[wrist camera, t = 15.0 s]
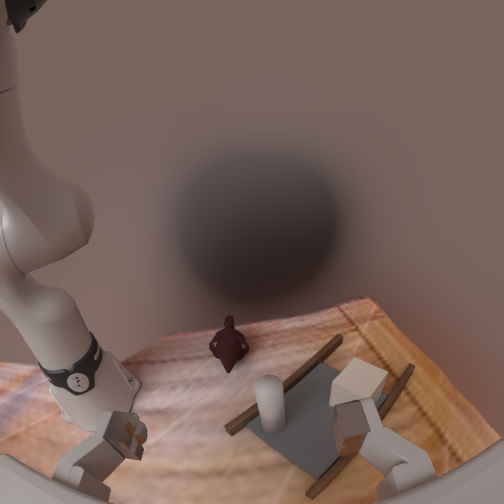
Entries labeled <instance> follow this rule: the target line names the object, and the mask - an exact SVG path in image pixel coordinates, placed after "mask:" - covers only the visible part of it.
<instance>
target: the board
mask: <svg viewBox="0 0 504 504" xmlns="http://www.w3.org/2000/svg"><path fill="white" fill-rule="evenodd" d="M339 374H340V372H338V371H336V370H334V369H332V368H331V367H329V366H327V365H325V364H323V363H320V364H318V365H317V366H316V367H315V368H314V369H313V370H312V371H311V372H310V373H309V374H308V375H306V376H305V377H304V378H303V379H302V380H301V381H300V382H299V383H297V384H296V385H295V386H294V387H293V388H292V389H290V390H289V391H288V392H287V393H286V394H284V393H283V382H282V380H281V379H280V378H279V377H277V376H274V375H265V376H262V377H260V378H258V379H257V380H256V381H255V383H254V390H255V395H256V400H257V405H258V410H259V415H258V416H257V417H255V418H254V419H253V420H251V421H250V422H249V423H247V427H248V428H249V429H250V430H251V431H252V432H254V433H255V434H256V435H257V436H259V437H260V438H261V439H262V440H263V441H265V442H266V443H267V444H269V445H270V446H271V447H272V448H274V449H275V450H276V451H278V452H279V453H280V454H282V455H283V456H284V457H286V458H287V459H288V460H290V461H291V462H293V463H294V464H295V465H297V466H298V467H300V468H301V469H303V470H304V471H306V472H307V473H309V474H310V475H312V476H313V477H315V478H316V479H319V478H320V477H321V476H322V475H323V474H324V473H325V472H326V471H327V470H328V469H329V468H330V467H331V466H332V465H333V464H334V463H335V462H336V461H337V460H338V459H339V457H340V456H339V455H338V451H337V447H336V440H337V437H336V436H335V435H334V434H333V430H332V415H333V414H334V411H333V408H334V407H332V406H330V405H329V402H330V395H331V387H332V381H333V380H334V379H335V378H336V377H337V376H338V375H339ZM387 396H388V395H386V394H384V393H381V396H380V397H379V399H378V400H377V401H376V403H375V406H376V408H377V411H378V410H379V408H380V407H381V406H382V404H383V403H384V401H385V400H386V399H387Z"/></svg>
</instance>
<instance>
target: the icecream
mask: <svg viewBox="0 0 504 504" xmlns="http://www.w3.org/2000/svg"><path fill="white" fill-rule="evenodd" d="M224 324H225V328H224V329H222V330H220V331H218V332H217V333H216V335H215V336H214V338H213V339H212V341H211V342H210V343H209V345H210V347H209V349H210V350H211V351H212V353H213V355H214V356H215V357H216V358H218V359H220V360H221V362H222V364H223V366H224V368H225V370H226V372H227V373H230V372H231V370H232V368H233V366H234V365H235V363H236V361H237V360H240V359H241V358H242V357H243V356H244V355H245V354H246V353H247V352H248V348H249V346H248V344H247V343H246V341H245V339H244V335H243V334H242V333H240V332H239V331H238V330H236V329H235V328H234V327H235V326H234V319H233V316H228V317H226V319H225V322H224Z"/></svg>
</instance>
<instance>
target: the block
mask: <svg viewBox="0 0 504 504" xmlns="http://www.w3.org/2000/svg"><path fill="white" fill-rule="evenodd" d="M387 375H388V371H385V370H383V369H381V368H378V367H376V366H374V365H371V364H369V363H367V362H365V361H363V360H360V359H358V358H356V357H355V358H354V359H353V360H352V361H351V362H350V363H349V364H348V365H347V366H346V368H345V369H344V370H343V371H342V372H341V373H340V374H339V375H338V376H337V377H336V378H335V379H334V380H333V381H332V387H331V395H330V402H329V405H330V406H332V407H334V405H337V404H341V403H345V402H350V401H354V400H359V399H362V398H366V397H371V398H372V399H373V401H374V403H376V401H377V400H378V399H379V397H380V396H381V393H382V390H383V387H384V384H385V381H386V378H387Z"/></svg>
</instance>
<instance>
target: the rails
mask: <svg viewBox="0 0 504 504" xmlns="http://www.w3.org/2000/svg"><path fill="white" fill-rule="evenodd" d="M342 339H343V336H342V335H340V334H337V335H336V336H335V337H334V338H333V339H331V340H330V341H329V342H328V343H327V344H326V345H325V346H324V347H323V348H322V349H321V350H320V351H319V352H317V353H316V354H315V355H314V356H313V357H312V358H311V359H310V360H309V361H307V362H306V363H305V364H304V365H303V366H302V367H300V368H299V369H298V370H297V371H296V372H295V373H293V374H292V375H291V376H290V377H289V378H287V379H286V380H285V381H284V382H283V393H284V394H286V393H287V392H288V391H289V390H290V389H292V388H293V387H294V386H295V385H296V384H297V383H299V382H300V381H301V380H302V379H303V378H304V377H305V376H306V375H308V374H309V373H310V372H311V371H312V370H313V369H314V368H315V367H316V366H317V365H318V364H320V363H322V362H323V361H324V360H325V359H327V358H328V357H329V356H330V355H331V354H332V353H333V352H334V351H335V350H336V349H337V348H338V347H339V346H340V345H341V344H342ZM414 368H415V365H412V364H409V365H408V367H407V369H406V370H405V372H404V374H403V375H402V377H401V378H400V380H399V382H398V383H397V385H396V386H395V388H394V389H393V391H392V392H391V394H390V395H389V397H388V398H387V400H386V401H385V403H384V404H383V405H382V407H381V408H380V410H379V411H378V413H379V416H380V419H381V421H382V420H383V419H384V417H385V416H386V414H387V413H388V411H389V410H390V408H391V407H392V405H393V404H394V402H395V401H396V399H397V398H398V396H399V395H400V393H401V391H402V390H403V388H404V387H405V385H406V383H407V382H408V380H409V378H410V376H411V375H412V373H413V370H414ZM258 415H259V410H258V405H257V403H256V404H254V405H253V406H252V407H250V408H249V409H247V410H246V411H245V412H243V413H242V414H241V415H239V416H238V417H236V418H235V419H233V420H232V421H231V422H229V423H228V424H226V425H225V429H226V431H227V432H228V433H229V434H230V435H231V436H233V435H235V434H236V433H237V432H239V431H240V430H242V429H243V428H244V427H246V426H247V423H249V422H250V421H251V420H253V419H254V418H255V417H257V416H258ZM356 454H357V452H356V453H352V454H347V455H343V456H341V457H340V459H339V460H338V461H337V462H336V463H335V464H334V465H333V466H332V467H331V468H330V469H329V470H328V471H327V472H326V473H325V474H324V475H323V476H322V477H321V478H320V479H319V480H318V481H317V482H316V483H315V484H314V485H313V486H312V487H311V488H310V489H308V490H307V491H306V496H307V497H309V498H310V499H312V500H313V499H314V498H315V497H316V496H317V495H318V494H319V493H320V492H321V491H322V490H323V489H324V488H325V487H326V486H327V485H328V484H329V483H330V482H331V481H332V480H333V479H334V478H335V477H336V476H337V475H338V474H339V473H340V472H341V471H342V469H343V468H344V467H345V466H346V465H347V464H348V463H349V462H350V461H351V459H352V458H353V457H354V456H355V455H356Z"/></svg>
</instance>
